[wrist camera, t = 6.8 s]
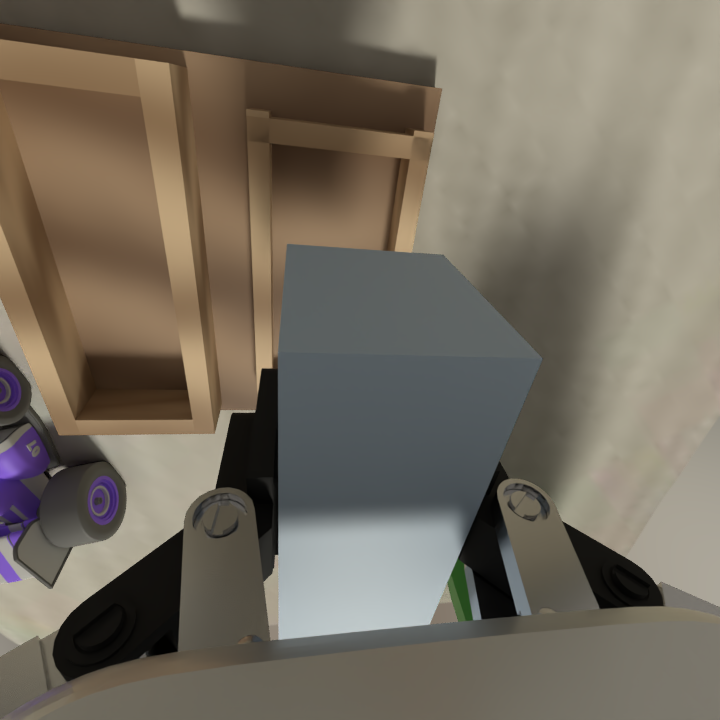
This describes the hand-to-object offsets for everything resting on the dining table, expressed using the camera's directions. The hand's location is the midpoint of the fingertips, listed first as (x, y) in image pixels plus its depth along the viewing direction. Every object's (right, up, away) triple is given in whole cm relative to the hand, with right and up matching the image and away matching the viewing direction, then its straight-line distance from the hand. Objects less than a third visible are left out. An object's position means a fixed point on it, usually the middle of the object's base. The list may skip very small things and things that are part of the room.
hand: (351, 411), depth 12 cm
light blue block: (0, 0, +1) cm, 1 cm away
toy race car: (-22, -3, +12) cm, 25 cm away
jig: (-6, +6, +8) cm, 12 cm away
